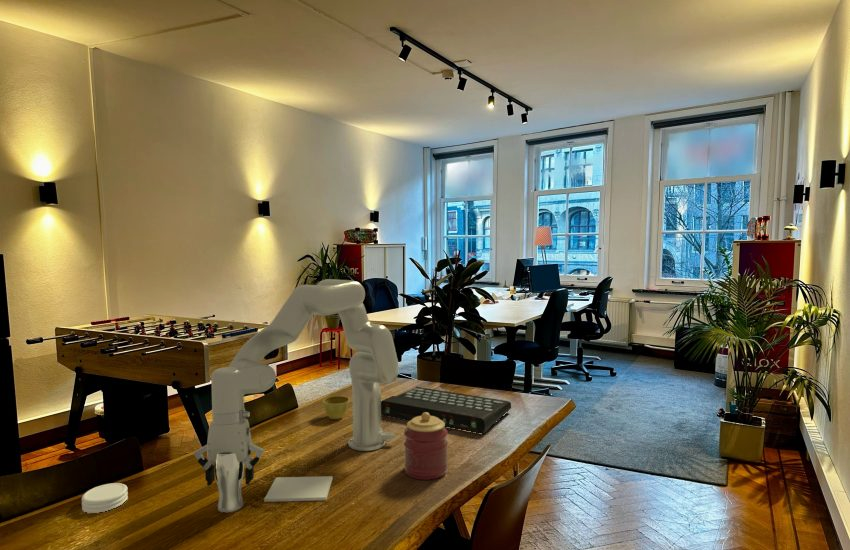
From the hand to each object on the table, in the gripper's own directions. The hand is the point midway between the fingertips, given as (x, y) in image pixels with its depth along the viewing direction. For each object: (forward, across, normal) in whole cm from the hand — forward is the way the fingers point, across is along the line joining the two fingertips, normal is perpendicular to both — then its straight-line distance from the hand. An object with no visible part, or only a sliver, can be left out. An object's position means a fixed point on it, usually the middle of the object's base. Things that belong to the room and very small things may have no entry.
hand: (229, 482), depth 125 cm
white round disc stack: (+7, +33, -3) cm, 34 cm away
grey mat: (+6, -16, -8) cm, 19 cm away
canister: (+6, -51, -18) cm, 54 cm away
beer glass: (+6, 0, 0) cm, 6 cm away
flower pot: (+6, -18, -66) cm, 69 cm away
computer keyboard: (+7, -61, -68) cm, 92 cm away
